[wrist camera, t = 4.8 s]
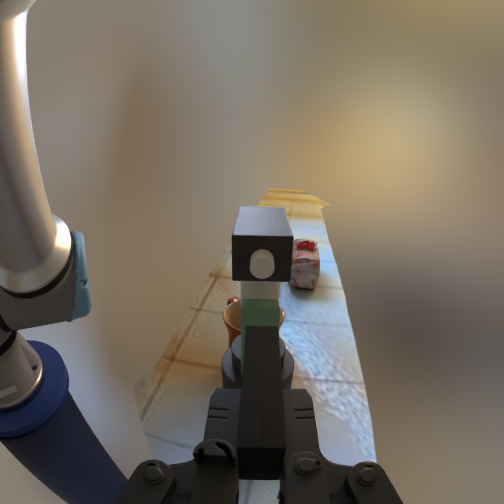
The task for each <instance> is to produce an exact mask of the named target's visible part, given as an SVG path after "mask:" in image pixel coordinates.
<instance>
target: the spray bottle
mask: <svg viewBox="0 0 504 504" xmlns="http://www.w3.org/2000/svg"><path fill="white" fill-rule="evenodd" d="M293 239H294V237H293V234H292V230H291V227H290V224H289V221H288V217H287V214H286V211H285V208H282V207H240V208H239V211H238V215H237V219H236V222H235V226H234V230H233V233H232V280H233V281H241V301H242V298H247V299H279V297H280V282H290V281H291V268H292V254H293ZM279 344H280V357H281V371H282V386H283V389H291V384H292V377H293V370H294V360H293V357H292V355H291V354H290V352H289V351H288V350H287V349H285V344H284V342H283V340H282V339H281V338H280V337H279ZM222 377H223V388H225V389H241V384H242V377H241V335H239V336H238V337H236V338H235V339H234V341H233V343H232V346H231V348H229V349H228V350H227V351H226V353H225V354H224V356H223V358H222Z"/></svg>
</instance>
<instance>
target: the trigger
mask: <svg viewBox="0 0 504 504" xmlns="http://www.w3.org/2000/svg"><path fill="white" fill-rule="evenodd" d="M279 321H280V300H279V299H247V298H242V301H241V377H242V371H243V358H244V344H245V331H246V326H278V331H279Z"/></svg>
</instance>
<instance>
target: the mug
mask: <svg viewBox="0 0 504 504" xmlns="http://www.w3.org/2000/svg"><path fill="white" fill-rule="evenodd" d="M284 317H285V315H284V311H283V310H282V308H281V307H280V321H279V330H280V327H281V325H282V323H283V321H284ZM223 320H224V322H225V324H226V327H227V329H228V333H229V348H231V346H232V343H233V341H234V339H235V338H236V337H238V336H239V335H241V299H239V298H238V297H233V298H230V299H229V300H228V302H227V307H226V308H225V309H224V311H223Z"/></svg>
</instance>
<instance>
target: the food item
mask: <svg viewBox="0 0 504 504" xmlns="http://www.w3.org/2000/svg"><path fill="white" fill-rule="evenodd" d="M319 270H320V259H319V253H318V248H317V243H316V242H314V241H312V240H308V239H296V240H294V241H293V254H292V268H291V281H290V282H288V283H289V285H291V286H294V287H298V288H305V289H315V288H316V285H317V282H318V276H319Z"/></svg>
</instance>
